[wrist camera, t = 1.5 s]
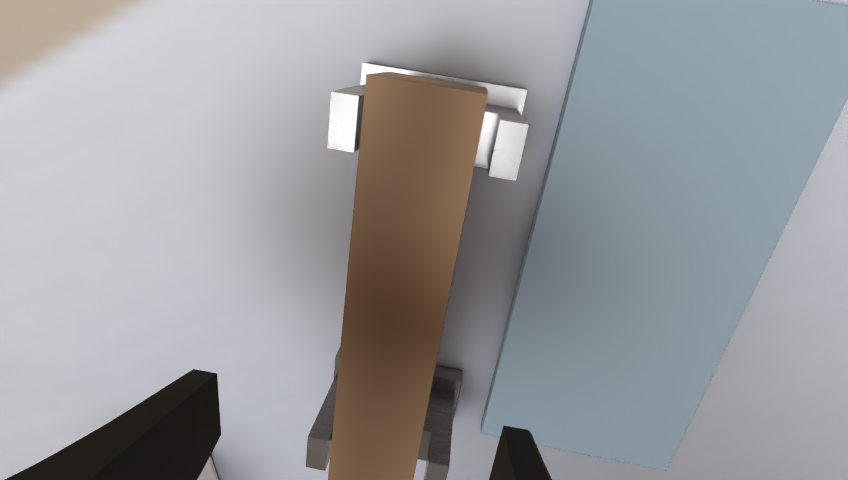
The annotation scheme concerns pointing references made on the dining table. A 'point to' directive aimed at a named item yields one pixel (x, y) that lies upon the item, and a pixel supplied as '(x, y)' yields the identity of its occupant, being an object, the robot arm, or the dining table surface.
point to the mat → (661, 213)
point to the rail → (400, 266)
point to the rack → (494, 152)
